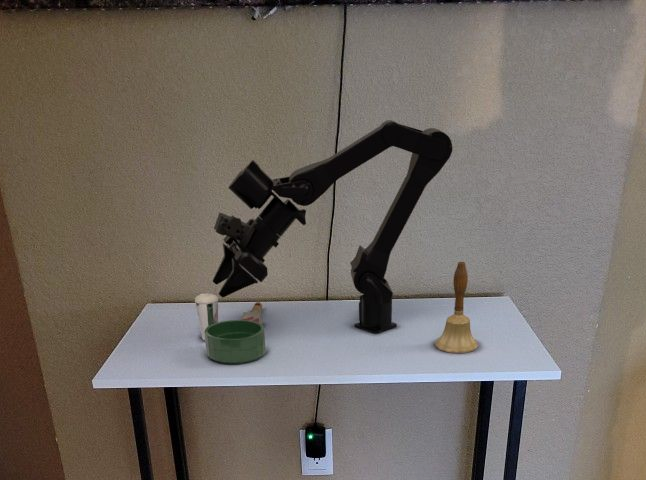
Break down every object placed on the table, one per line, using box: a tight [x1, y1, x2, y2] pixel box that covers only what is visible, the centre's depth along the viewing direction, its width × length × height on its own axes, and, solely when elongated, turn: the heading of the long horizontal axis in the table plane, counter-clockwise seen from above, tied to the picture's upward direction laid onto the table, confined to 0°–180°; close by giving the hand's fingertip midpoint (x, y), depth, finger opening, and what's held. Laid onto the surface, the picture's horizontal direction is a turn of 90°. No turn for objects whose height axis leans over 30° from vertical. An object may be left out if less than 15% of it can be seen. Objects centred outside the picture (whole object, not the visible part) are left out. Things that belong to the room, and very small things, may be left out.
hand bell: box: [434, 261, 479, 354], centre depth 141 cm, size 8×8×16 cm
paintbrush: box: [241, 301, 264, 325], centre depth 158 cm, size 4×3×20 cm
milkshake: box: [194, 285, 219, 342], centre depth 149 cm, size 4×5×10 cm
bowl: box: [204, 319, 267, 365], centre depth 143 cm, size 11×11×5 cm
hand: (217, 289), depth 147 cm, fingers open, 9 cm apart
